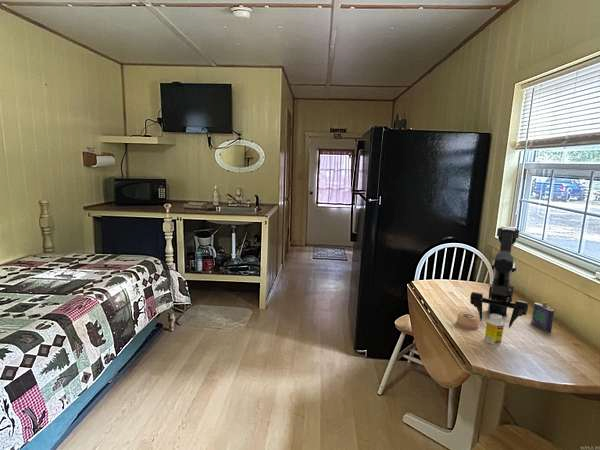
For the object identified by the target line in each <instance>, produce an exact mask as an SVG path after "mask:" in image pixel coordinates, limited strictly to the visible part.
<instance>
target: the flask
mask: <svg viewBox="0 0 600 450" xmlns="http://www.w3.org/2000/svg"><path fill="white" fill-rule="evenodd" d="M532 309H533V310H532V315H531V321H530V322H531V323H530V324H532V325H534V326H535V327H537V328H540V330H542V331H544V332H545V333H546V332H547V333H552V330H553V329H552V328H553V323H554V321H553V320H554V315H555V310H554V309H552V308H551V307H549V305H548V302H546V301H542V302H541V303H539V302H534V303H533V308H532Z"/></svg>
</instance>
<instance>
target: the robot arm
mask: <svg viewBox="0 0 600 450" xmlns="http://www.w3.org/2000/svg"><path fill="white" fill-rule="evenodd" d="M519 233H520V230H518V229H517V227H513V226H505V225H504V226H503V225H501V227H499V228H497V231H496V237H497V240H498V243H499V245H500V248H499V252H498V253H497V254H495V258H494V259H493V260H492V265H491V270H493V278H492V281H491V285H489V291H488V297H484V296H483V295H484V294H483V293H480V292H475V291H472V292H471V293H470V299H469V300H470V304H471V305H473V307H475V308H476V309H477V312H478V317H479V322H482V320H483V303H484V304H487V305H488V306H487V310H488V312H489V313H490V314H498V315H501V316H502V317H508V314H507V311H508V310H507V309H513V310H512V313H511V316H510V319H509V324H508V328H509V329H511V327H512V325H513V324H514V322H515V320H517V319H518V317H522V316H527V314H528V308H529V303H528V302H527V301H523V300H517V299H516V300H515V303H513V297H514V296H513V295H514V286H512V285H511V283H510V282H511V277H512V273H515V272H516V271H517V265H516V262H514V256H513V255H512V254H511V253H512V247H513V246H514V245H515V244H516V242H517V239H519V236H520V234H519Z"/></svg>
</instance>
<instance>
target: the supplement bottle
mask: <svg viewBox="0 0 600 450" xmlns="http://www.w3.org/2000/svg"><path fill="white" fill-rule="evenodd" d="M504 328H505V322H504V321H503V316H502V315H498V314H491V313H490V314H489V317H488V318H487V319H486V324H485V333H484V340H485V342H486V343H488V344H491V345H496V346H498V345H501V344H502V340H503V333H504Z"/></svg>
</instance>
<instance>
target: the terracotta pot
mask: <svg viewBox="0 0 600 450" xmlns="http://www.w3.org/2000/svg"><path fill="white" fill-rule="evenodd" d="M456 315H457V317H456V325H457V327H459V328H461V329H466V330H468V331H469V330H470V331H474V330H478V329H479V323H480V316H479V315H477V314H476V313H472V312H469V311H467V312H466V311H459V312H458V313H457V314H456Z"/></svg>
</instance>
